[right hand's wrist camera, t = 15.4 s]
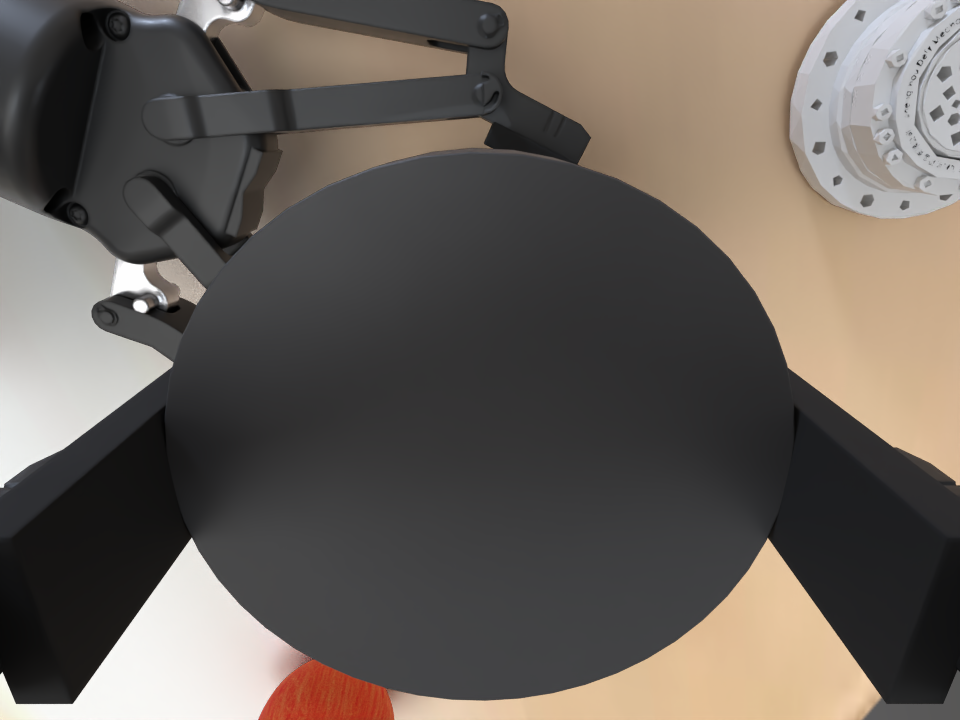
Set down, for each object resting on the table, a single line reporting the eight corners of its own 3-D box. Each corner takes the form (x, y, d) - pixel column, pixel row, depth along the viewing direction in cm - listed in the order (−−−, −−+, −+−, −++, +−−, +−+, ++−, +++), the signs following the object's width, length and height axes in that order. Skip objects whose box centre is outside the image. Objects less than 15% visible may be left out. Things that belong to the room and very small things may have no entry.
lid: (469, 0, 9) (467, -39, 7) (842, 413, 12) (920, 473, 10) (119, 427, 12) (43, 489, 10) (486, 681, 15) (487, 772, 13)
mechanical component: (755, 41, 24) (818, 251, 27) (812, 22, 20) (878, 272, 23) (1002, -91, 22) (1038, 150, 26) (1121, -143, 18) (1144, 153, 21)
